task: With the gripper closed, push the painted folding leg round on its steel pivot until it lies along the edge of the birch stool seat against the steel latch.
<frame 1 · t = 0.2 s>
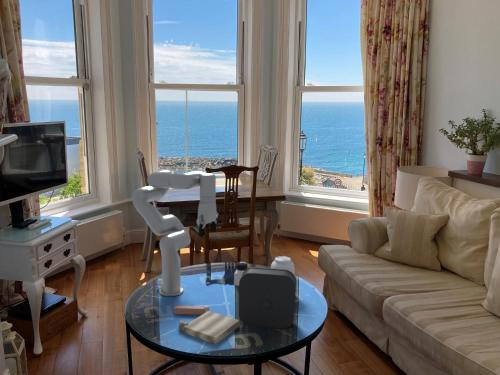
hand: (207, 233, 213), 36 cm above the table, tool pointing down, fingers open, 9 cm apart
box camera: (241, 284, 244), on the table
speaker: (266, 324, 199), on the table
folding leg: (192, 309, 207), point 2 cm above the table, hinge at 60.0°
white ribbed vase: (281, 294, 232), on the table
stool seat: (211, 329, 193), on the table
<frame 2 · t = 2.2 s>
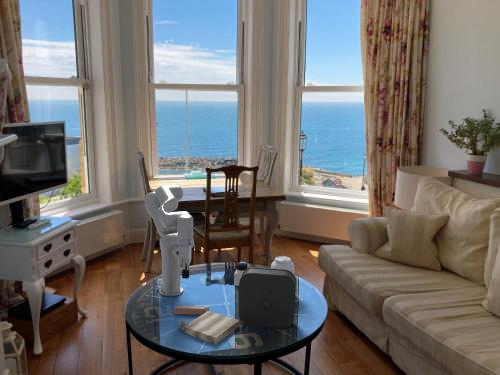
hand: (185, 277, 211), 15 cm above the table, tool pointing down, fingers closed
nothing on the table moved.
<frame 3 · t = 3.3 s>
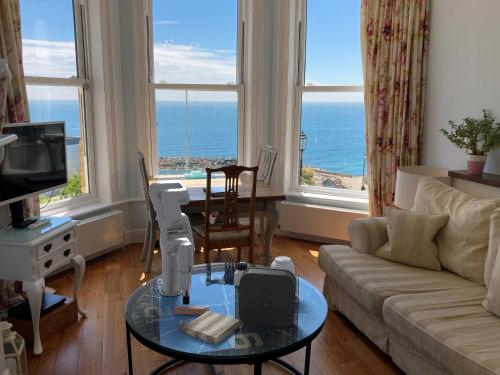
hand: (186, 303, 213), 2 cm above the table, tool pointing down, fingers closed
nothing on the table moved.
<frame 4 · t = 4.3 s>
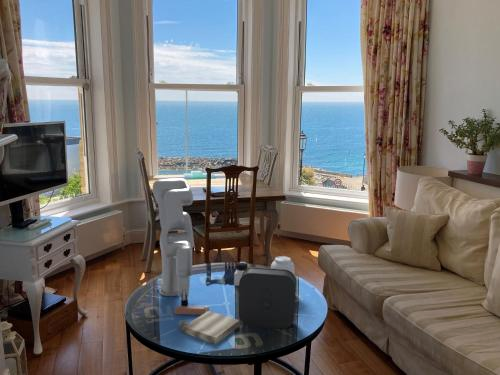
hand: (184, 307, 210), 1 cm above the table, tool pointing down, fingers closed
folding leg: (192, 309, 207), point 2 cm above the table, hinge at 59.9°, touching gripper
everything else where it was.
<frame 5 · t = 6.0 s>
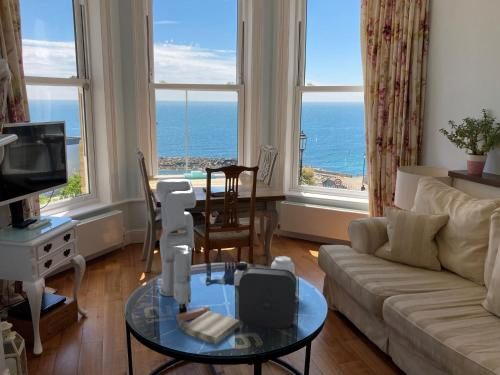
hand: (182, 314, 203), 1 cm above the table, tool pointing down, fingers closed
folding leg: (193, 313, 203), point 2 cm above the table, hinge at 24.8°, touching gripper
everything else where it was.
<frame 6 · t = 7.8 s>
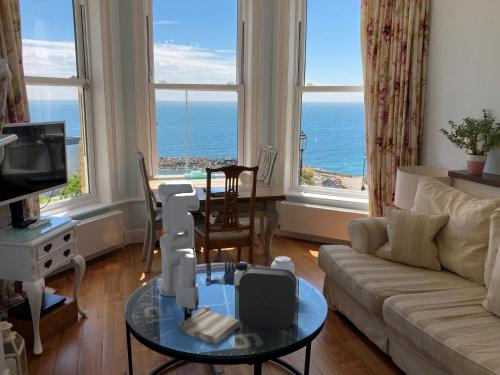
hand: (187, 319, 199), 1 cm above the table, tool pointing down, fingers closed
folding leg: (198, 316, 201), point 2 cm above the table, hinge at -3.4°, touching gripper
everything else where it was.
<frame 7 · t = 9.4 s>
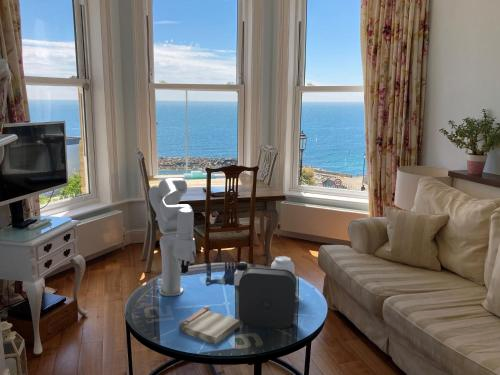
hand: (184, 272, 207), 20 cm above the table, tool pointing down, fingers closed
folding leg: (198, 316, 201), point 2 cm above the table, hinge at -1.7°
everything else where it was.
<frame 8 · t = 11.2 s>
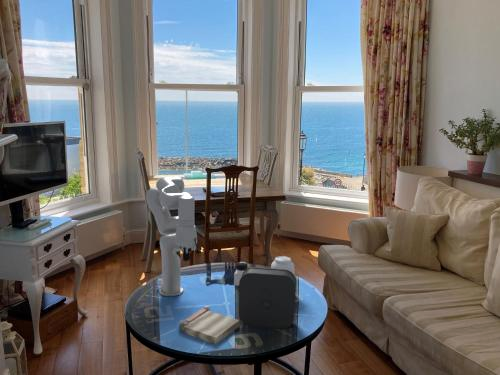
hand: (186, 260, 207), 25 cm above the table, tool pointing down, fingers closed
nothing on the table moved.
at the end: folding leg at -2° (first picture: +60°) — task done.
